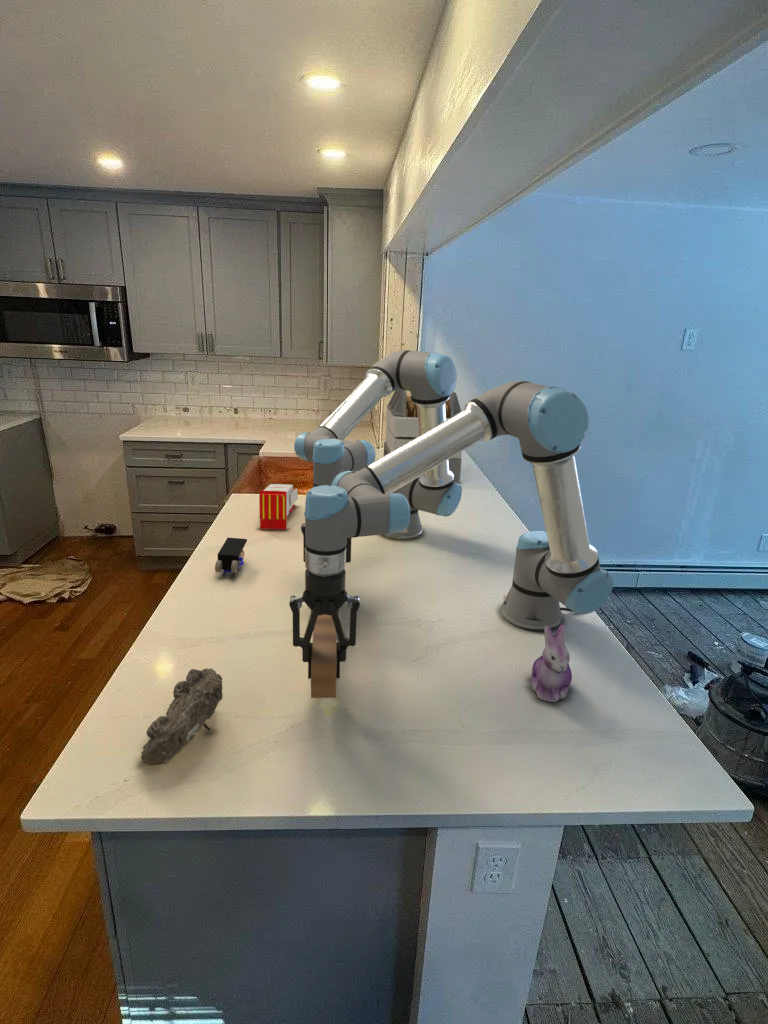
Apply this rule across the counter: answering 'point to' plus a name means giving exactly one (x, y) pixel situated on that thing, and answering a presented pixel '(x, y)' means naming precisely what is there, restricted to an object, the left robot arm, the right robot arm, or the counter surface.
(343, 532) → the right robot arm
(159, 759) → the fossil
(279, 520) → the toy
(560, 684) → the figurine
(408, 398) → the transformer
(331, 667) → the bar
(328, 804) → the counter surface
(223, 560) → the black toy car
